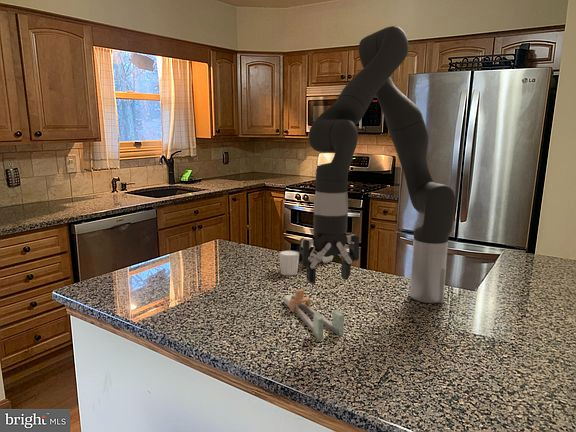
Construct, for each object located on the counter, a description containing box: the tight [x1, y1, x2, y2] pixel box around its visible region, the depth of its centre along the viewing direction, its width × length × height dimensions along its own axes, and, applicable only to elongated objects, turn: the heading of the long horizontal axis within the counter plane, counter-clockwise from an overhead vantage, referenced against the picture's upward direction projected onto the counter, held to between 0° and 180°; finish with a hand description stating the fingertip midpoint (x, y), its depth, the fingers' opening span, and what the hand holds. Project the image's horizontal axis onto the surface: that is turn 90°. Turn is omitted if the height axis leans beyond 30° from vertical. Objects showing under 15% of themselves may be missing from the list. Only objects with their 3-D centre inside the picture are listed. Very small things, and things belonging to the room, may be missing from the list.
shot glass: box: [278, 250, 299, 276], centre depth 144 cm, size 7×7×7 cm
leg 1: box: [294, 304, 324, 341], centre depth 106 cm, size 19×1×5 cm, turn 19°
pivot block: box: [283, 294, 300, 309], centre depth 118 cm, size 4×4×2 cm
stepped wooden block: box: [289, 289, 311, 313], centre depth 114 cm, size 2×5×5 cm, turn 113°
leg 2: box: [299, 302, 345, 337], centre depth 108 cm, size 19×1×5 cm, turn 27°
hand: (328, 280), depth 98 cm, fingers open, 8 cm apart
